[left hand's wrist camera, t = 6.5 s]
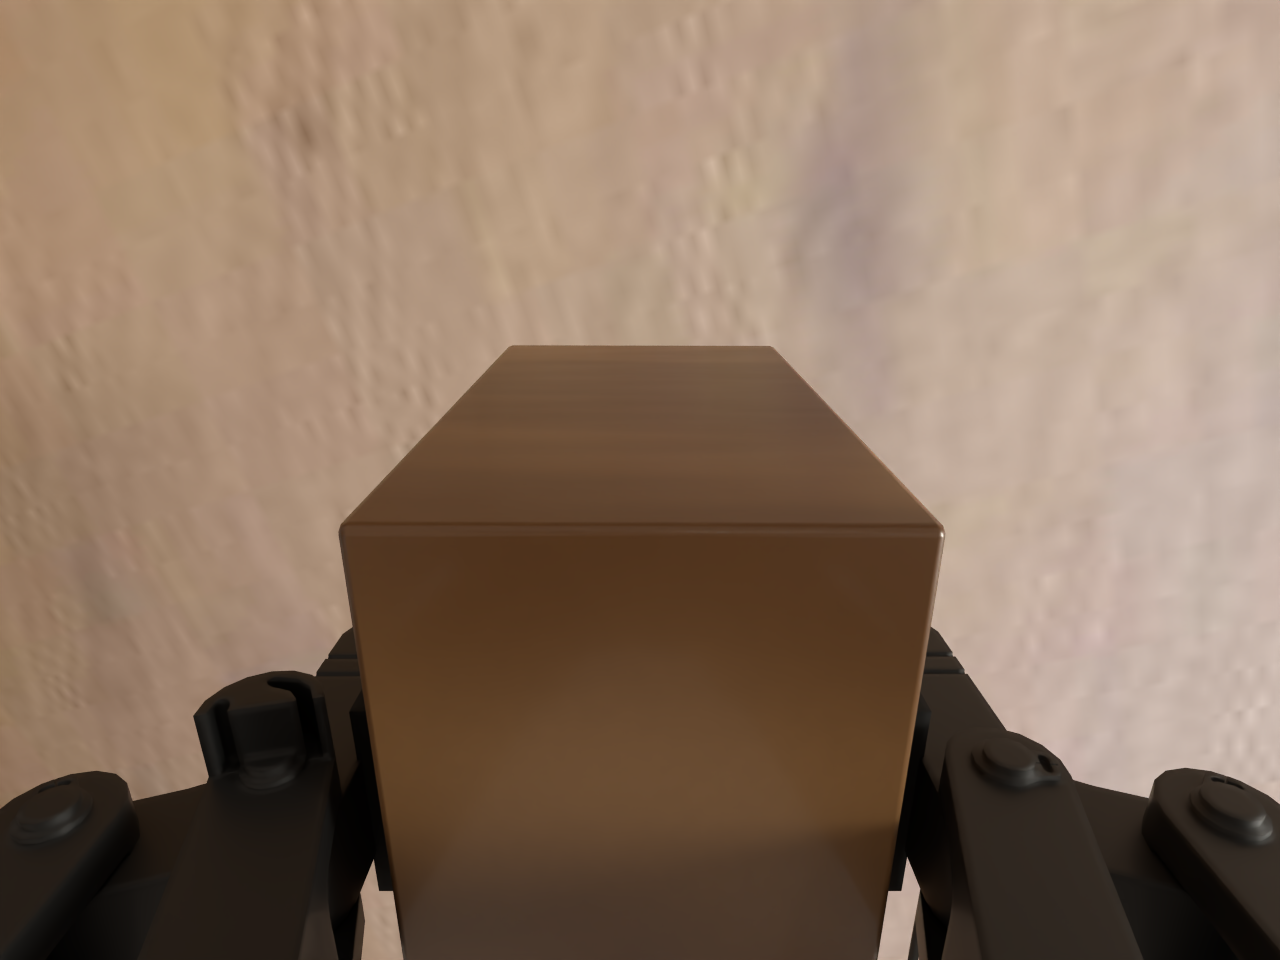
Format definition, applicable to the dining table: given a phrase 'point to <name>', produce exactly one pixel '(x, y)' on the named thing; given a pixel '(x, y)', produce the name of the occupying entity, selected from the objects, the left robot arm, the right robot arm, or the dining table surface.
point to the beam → (641, 662)
